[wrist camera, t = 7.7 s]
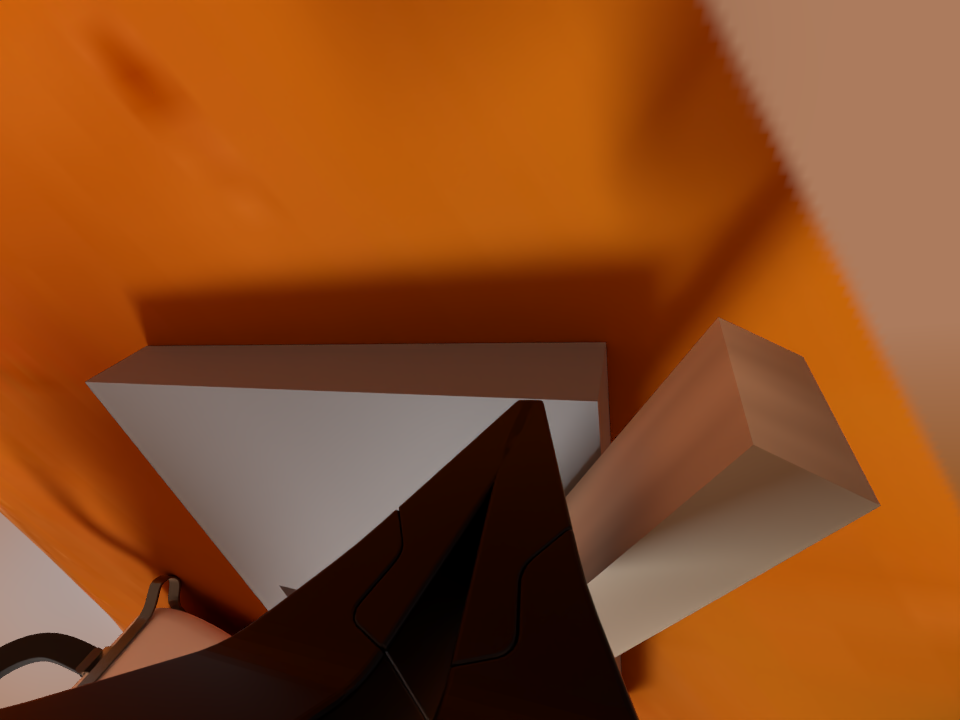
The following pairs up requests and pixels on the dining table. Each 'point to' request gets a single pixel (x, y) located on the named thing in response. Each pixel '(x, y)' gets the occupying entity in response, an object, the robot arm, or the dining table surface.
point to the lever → (712, 485)
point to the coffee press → (121, 641)
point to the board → (335, 434)
